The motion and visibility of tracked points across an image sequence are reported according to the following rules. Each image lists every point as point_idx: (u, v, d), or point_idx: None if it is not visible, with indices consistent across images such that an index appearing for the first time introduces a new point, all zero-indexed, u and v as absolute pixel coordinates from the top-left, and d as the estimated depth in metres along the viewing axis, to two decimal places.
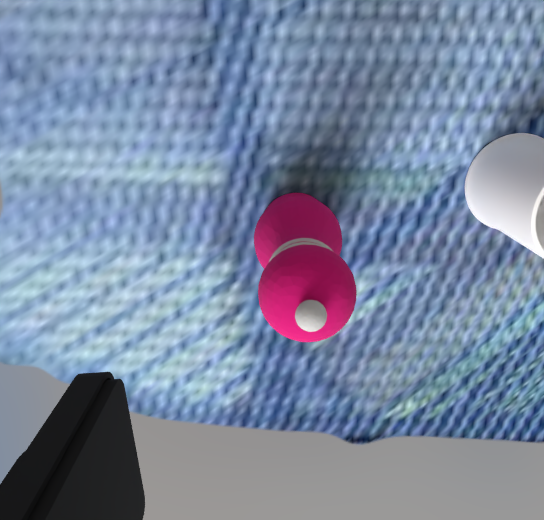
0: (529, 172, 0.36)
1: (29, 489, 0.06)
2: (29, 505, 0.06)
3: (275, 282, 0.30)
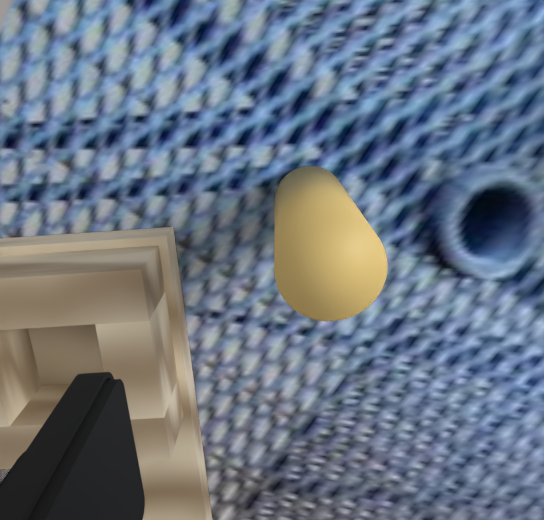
0: None
1: (29, 489, 0.06)
2: (29, 506, 0.06)
3: None
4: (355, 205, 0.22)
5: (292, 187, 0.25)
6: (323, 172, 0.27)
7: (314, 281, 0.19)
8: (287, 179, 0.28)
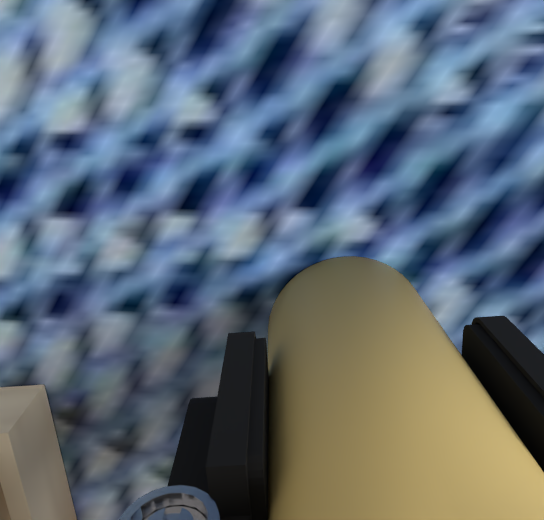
0: None
1: (239, 417, 0.07)
2: (248, 429, 0.07)
3: None
4: None
5: (320, 374, 0.08)
6: (391, 290, 0.11)
7: None
8: (299, 303, 0.11)
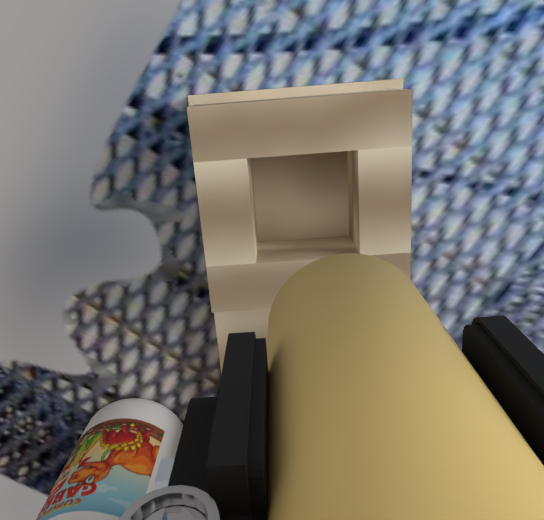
0: None
1: (239, 417, 0.07)
2: (248, 428, 0.07)
3: None
4: None
5: (320, 370, 0.08)
6: (392, 286, 0.11)
7: None
8: (299, 299, 0.11)
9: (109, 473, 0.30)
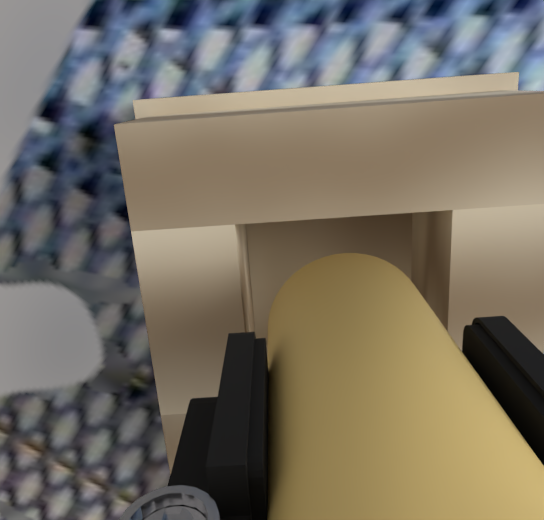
0: None
1: (239, 417, 0.07)
2: (248, 428, 0.07)
3: None
4: None
5: (320, 370, 0.08)
6: (391, 286, 0.11)
7: None
8: (299, 299, 0.11)
9: None
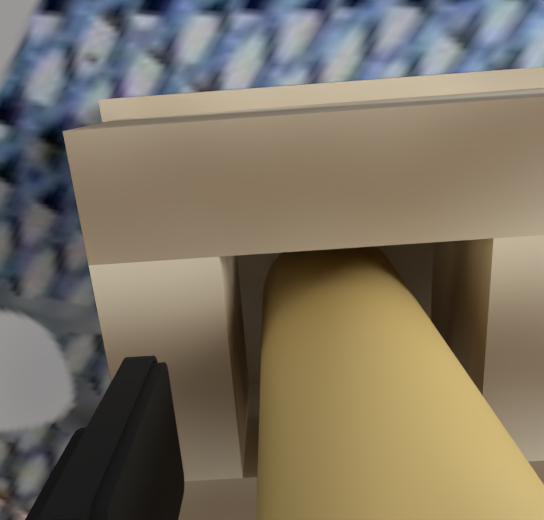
0: None
1: (97, 458, 0.07)
2: (100, 472, 0.07)
3: None
4: (492, 411, 0.08)
5: (303, 314, 0.10)
6: (366, 256, 0.13)
7: None
8: (289, 268, 0.13)
9: None
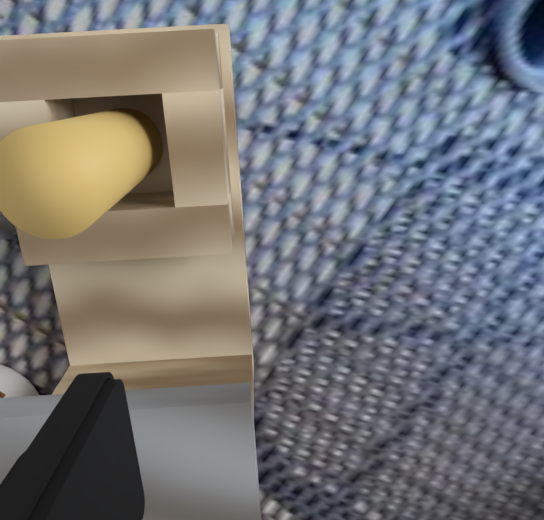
0: None
1: (29, 489, 0.06)
2: (30, 505, 0.06)
3: None
4: (118, 133, 0.22)
5: None
6: (127, 111, 0.27)
7: (32, 196, 0.18)
8: None
9: None
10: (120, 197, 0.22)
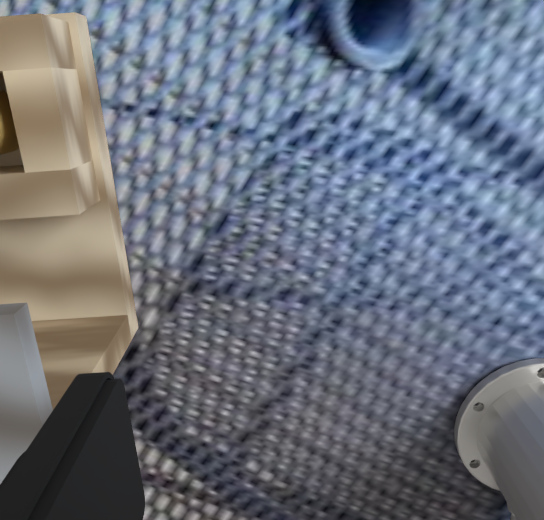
0: None
1: (29, 489, 0.06)
2: (29, 506, 0.06)
3: None
4: None
5: None
6: None
7: None
8: None
9: None
10: None
